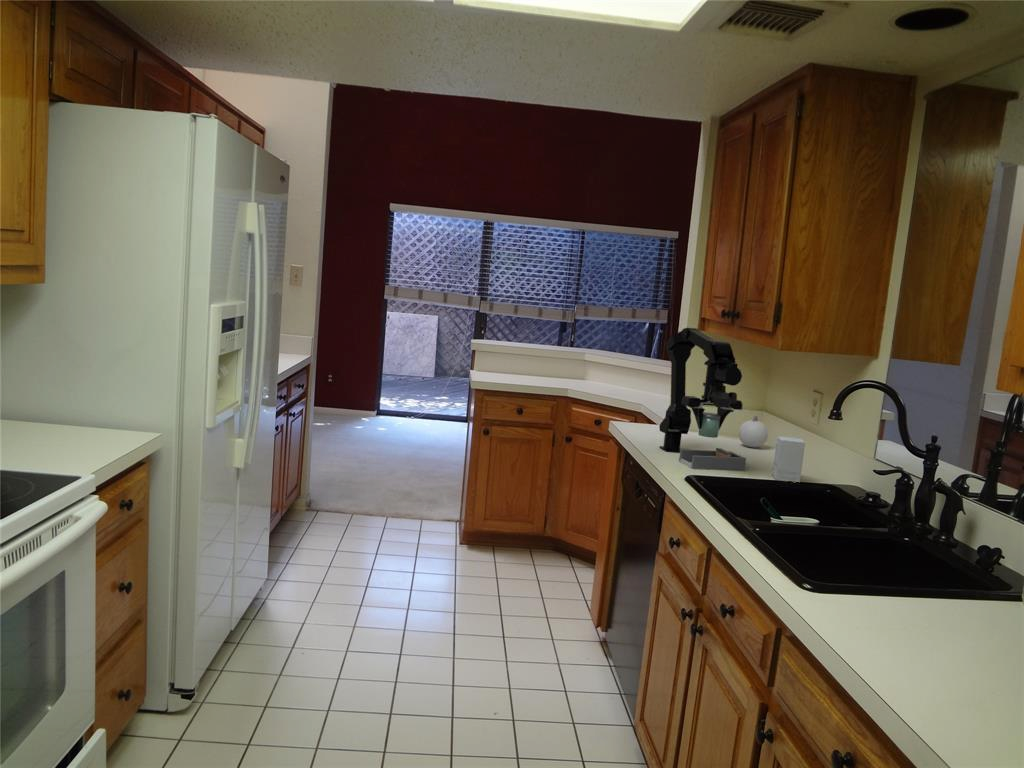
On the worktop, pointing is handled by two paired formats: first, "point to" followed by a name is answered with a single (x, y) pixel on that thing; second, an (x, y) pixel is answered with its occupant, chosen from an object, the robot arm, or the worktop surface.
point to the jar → (710, 425)
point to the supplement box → (788, 459)
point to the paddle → (722, 453)
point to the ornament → (753, 433)
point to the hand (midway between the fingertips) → (708, 429)
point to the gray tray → (711, 460)
